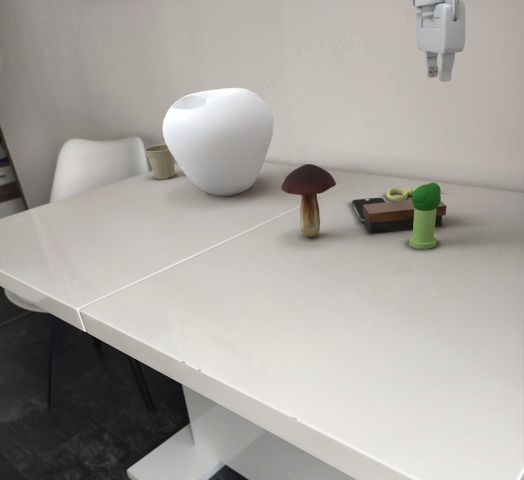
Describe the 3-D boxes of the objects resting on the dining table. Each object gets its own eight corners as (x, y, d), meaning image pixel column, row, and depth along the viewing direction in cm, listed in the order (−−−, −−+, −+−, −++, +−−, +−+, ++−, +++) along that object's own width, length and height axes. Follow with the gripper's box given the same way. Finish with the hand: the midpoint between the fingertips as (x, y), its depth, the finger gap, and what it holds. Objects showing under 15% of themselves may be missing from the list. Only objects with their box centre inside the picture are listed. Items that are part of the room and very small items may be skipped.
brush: (435, 217, 118) (437, 197, 115) (444, 226, 113) (446, 205, 110) (362, 224, 118) (362, 204, 115) (368, 234, 112) (369, 213, 110)
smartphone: (382, 197, 130) (396, 217, 117) (382, 200, 130) (396, 220, 117) (350, 199, 130) (361, 220, 117) (350, 202, 130) (361, 223, 118)
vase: (226, 172, 164) (216, 83, 151) (296, 183, 148) (291, 84, 135) (155, 198, 147) (136, 100, 134) (225, 213, 131) (211, 104, 118)
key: (439, 193, 131) (440, 184, 129) (395, 203, 128) (395, 194, 126) (422, 186, 136) (422, 178, 135) (379, 195, 133) (379, 187, 132)
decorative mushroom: (307, 250, 108) (304, 175, 100) (274, 237, 115) (268, 166, 107) (347, 235, 113) (347, 162, 105) (312, 223, 121) (310, 154, 112)
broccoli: (432, 237, 108) (437, 179, 102) (441, 247, 104) (447, 187, 97) (404, 240, 108) (408, 182, 102) (412, 250, 104) (416, 190, 97)
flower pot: (146, 176, 168) (140, 147, 164) (174, 170, 171) (170, 142, 167) (154, 183, 161) (148, 153, 156) (183, 177, 164) (179, 147, 159)
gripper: (478, -16, 85) (472, 81, 92) (444, -8, 103) (442, 72, 110) (437, -9, 86) (434, 86, 93) (410, -3, 103) (410, 77, 110)
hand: (438, 79), depth 101 cm, fingers open, 8 cm apart
